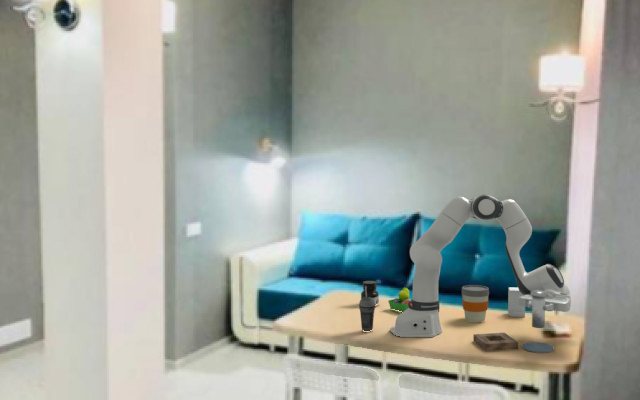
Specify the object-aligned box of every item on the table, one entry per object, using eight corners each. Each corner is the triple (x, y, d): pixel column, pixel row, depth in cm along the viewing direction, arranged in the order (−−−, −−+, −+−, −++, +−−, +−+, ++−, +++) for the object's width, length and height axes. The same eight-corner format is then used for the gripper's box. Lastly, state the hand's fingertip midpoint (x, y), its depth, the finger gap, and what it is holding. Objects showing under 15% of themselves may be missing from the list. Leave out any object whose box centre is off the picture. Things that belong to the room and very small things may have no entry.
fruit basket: (387, 310, 347) (387, 288, 346) (399, 307, 353) (399, 285, 352) (405, 315, 339) (404, 291, 338) (416, 311, 345) (416, 288, 344)
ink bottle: (373, 308, 352) (373, 284, 350) (357, 306, 356) (357, 283, 355) (382, 304, 360) (381, 281, 359) (366, 302, 364) (366, 279, 363)
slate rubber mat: (530, 353, 278) (530, 351, 278) (517, 344, 290) (517, 342, 290) (558, 351, 279) (558, 350, 279) (544, 343, 291) (544, 341, 291)
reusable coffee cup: (479, 315, 336) (480, 284, 335) (494, 321, 325) (494, 289, 323) (456, 317, 333) (456, 286, 331) (470, 324, 321) (470, 291, 319)
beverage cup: (363, 334, 307) (363, 289, 305) (356, 330, 314) (355, 286, 312) (378, 332, 310) (378, 287, 308) (370, 328, 317) (370, 284, 315)
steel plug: (534, 328, 280) (534, 294, 279) (527, 324, 286) (528, 290, 285) (548, 327, 281) (549, 293, 280) (541, 323, 287) (542, 289, 286)
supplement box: (525, 317, 331) (525, 290, 330) (508, 316, 333) (509, 290, 332) (523, 313, 338) (524, 287, 337) (507, 312, 340) (508, 286, 339)
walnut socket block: (485, 351, 282) (485, 344, 281) (473, 341, 295) (473, 334, 295) (518, 349, 284) (518, 342, 283) (504, 339, 297) (504, 332, 297)
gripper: (524, 289, 299) (512, 296, 288) (574, 295, 287) (563, 302, 276) (524, 304, 300) (512, 311, 289) (573, 310, 288) (562, 318, 277)
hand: (537, 307), depth 282 cm, fingers closed on steel plug, 5 cm apart
